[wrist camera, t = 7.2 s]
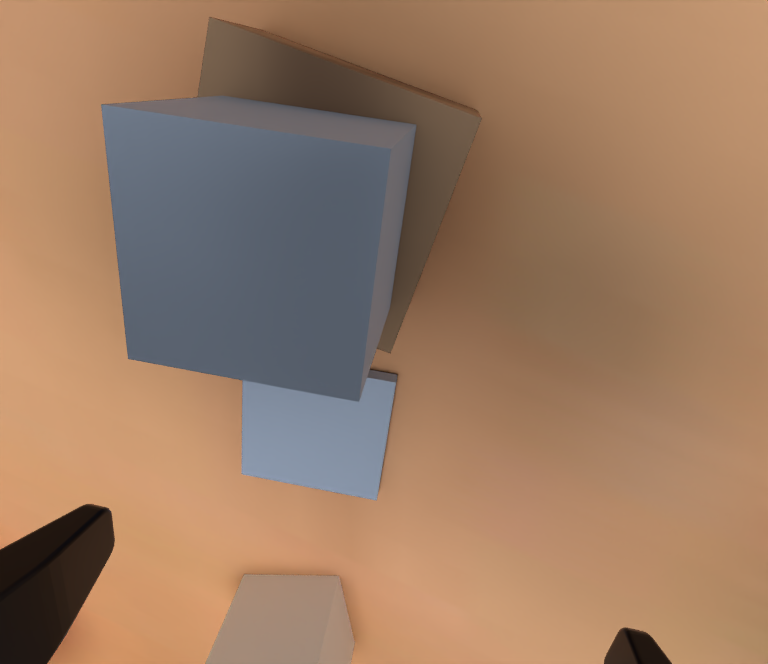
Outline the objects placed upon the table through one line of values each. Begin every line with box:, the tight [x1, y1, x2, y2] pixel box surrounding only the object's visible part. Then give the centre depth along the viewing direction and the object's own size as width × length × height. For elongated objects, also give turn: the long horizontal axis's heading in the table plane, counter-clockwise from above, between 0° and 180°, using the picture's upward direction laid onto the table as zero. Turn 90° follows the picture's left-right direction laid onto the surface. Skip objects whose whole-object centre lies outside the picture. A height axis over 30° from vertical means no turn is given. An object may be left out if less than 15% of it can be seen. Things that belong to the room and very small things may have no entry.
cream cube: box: [205, 574, 355, 664], centre depth 25 cm, size 5×5×5 cm
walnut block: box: [198, 17, 482, 353], centre depth 16 cm, size 7×7×4 cm
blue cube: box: [101, 96, 416, 402], centre depth 12 cm, size 5×5×5 cm
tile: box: [242, 370, 397, 500], centre depth 22 cm, size 6×6×1 cm
